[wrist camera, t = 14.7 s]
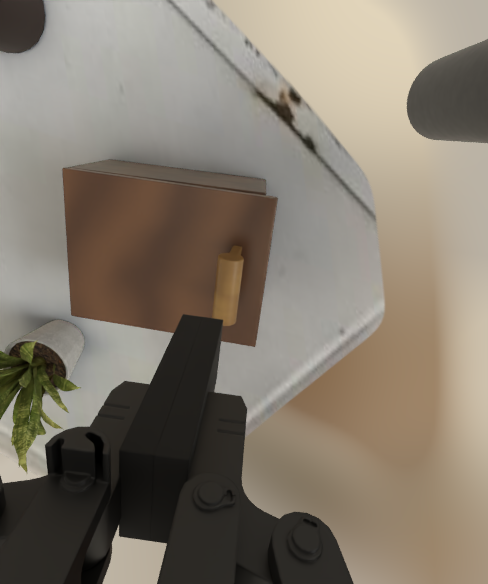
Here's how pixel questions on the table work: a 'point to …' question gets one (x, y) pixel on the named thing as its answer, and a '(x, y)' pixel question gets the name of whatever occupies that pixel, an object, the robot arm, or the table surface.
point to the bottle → (20, 24)
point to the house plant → (37, 378)
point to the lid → (166, 252)
